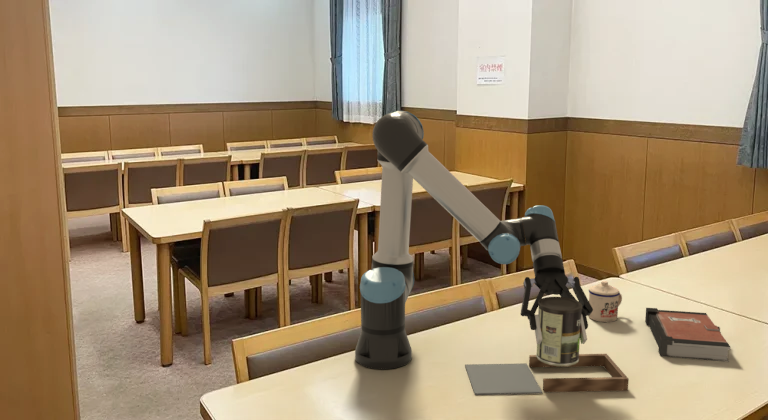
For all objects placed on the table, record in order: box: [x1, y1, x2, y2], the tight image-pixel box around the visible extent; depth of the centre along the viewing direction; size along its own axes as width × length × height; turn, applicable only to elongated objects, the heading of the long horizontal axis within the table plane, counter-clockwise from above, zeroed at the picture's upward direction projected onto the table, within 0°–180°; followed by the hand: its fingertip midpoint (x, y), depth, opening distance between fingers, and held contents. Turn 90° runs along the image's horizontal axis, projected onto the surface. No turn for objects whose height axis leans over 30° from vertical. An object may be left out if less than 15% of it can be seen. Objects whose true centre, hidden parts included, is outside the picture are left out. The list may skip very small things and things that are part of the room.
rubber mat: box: [464, 362, 544, 396], centre depth 160 cm, size 16×16×1 cm
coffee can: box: [535, 296, 582, 366], centre depth 158 cm, size 10×10×14 cm
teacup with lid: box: [588, 280, 623, 323], centre depth 201 cm, size 12×9×12 cm
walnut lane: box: [528, 353, 629, 393], centre depth 160 cm, size 20×15×3 cm
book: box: [644, 307, 732, 363], centre depth 183 cm, size 26×18×5 cm
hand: (561, 341), depth 155 cm, fingers closed on coffee can, 10 cm apart
